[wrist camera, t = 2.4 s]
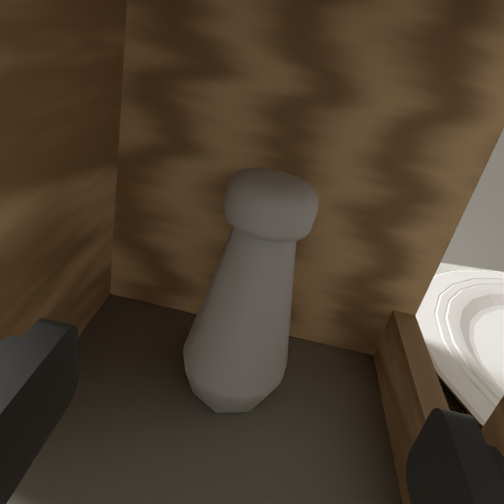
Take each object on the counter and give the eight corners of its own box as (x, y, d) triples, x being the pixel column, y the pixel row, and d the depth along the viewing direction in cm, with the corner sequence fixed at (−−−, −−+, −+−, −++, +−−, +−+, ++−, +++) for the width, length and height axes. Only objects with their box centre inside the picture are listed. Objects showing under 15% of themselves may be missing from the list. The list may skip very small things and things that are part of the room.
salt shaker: (291, 380, 27) (356, 184, 21) (249, 447, 23) (318, 219, 17) (210, 339, 29) (249, 147, 23) (156, 393, 24) (187, 170, 18)
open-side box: (-54, 463, 19) (-223, -382, 8) (98, 278, 33) (115, -126, 21) (450, 583, 19) (1004, -102, 8) (390, 346, 32) (559, -24, 21)
